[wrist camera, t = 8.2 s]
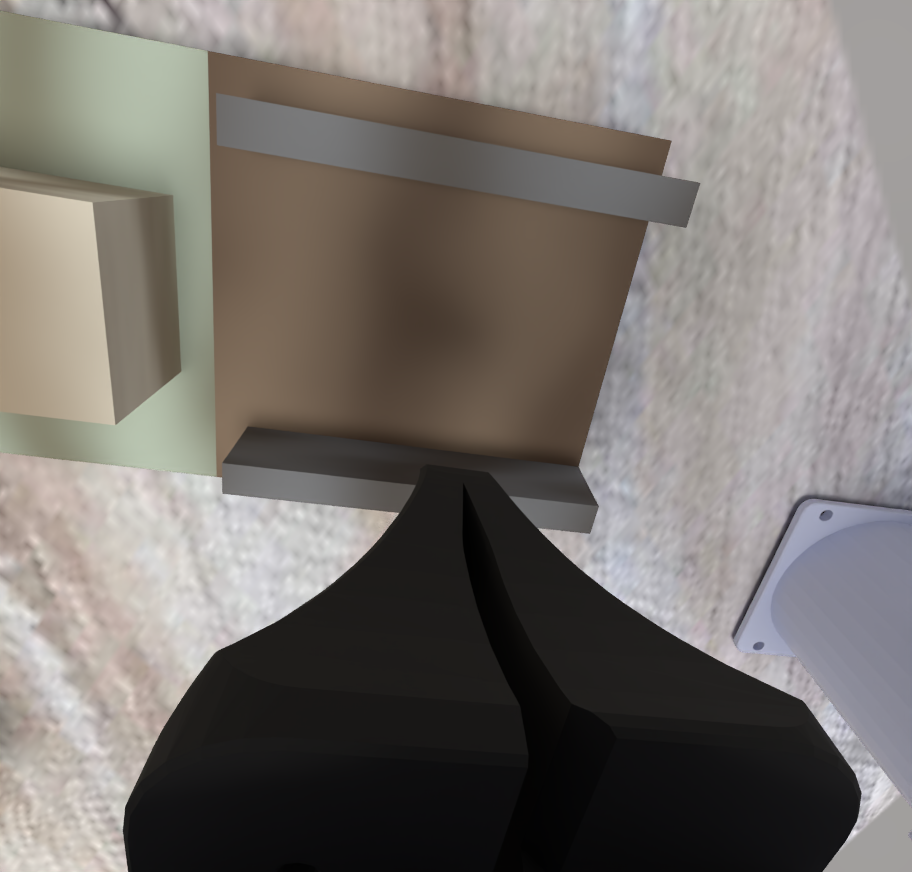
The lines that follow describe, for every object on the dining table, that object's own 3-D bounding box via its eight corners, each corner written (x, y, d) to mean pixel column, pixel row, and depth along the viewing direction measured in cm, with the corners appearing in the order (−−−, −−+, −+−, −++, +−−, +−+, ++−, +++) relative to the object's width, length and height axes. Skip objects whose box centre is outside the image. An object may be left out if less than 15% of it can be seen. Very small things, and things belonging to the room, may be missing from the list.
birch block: (172, 195, 15) (92, 202, 11) (181, 371, 17) (115, 425, 13) (-30, 161, 14) (-183, 158, 11) (4, 348, 16) (-114, 397, 13)
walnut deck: (645, 144, 17) (715, 135, 13) (552, 487, 22) (581, 559, 18) (-639, -102, 13) (-1110, -224, 9) (-398, 375, 18) (-635, 434, 14)
